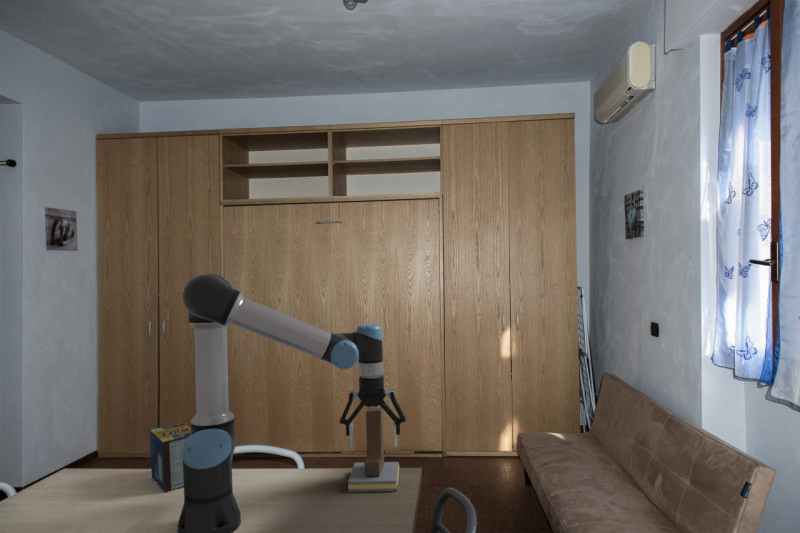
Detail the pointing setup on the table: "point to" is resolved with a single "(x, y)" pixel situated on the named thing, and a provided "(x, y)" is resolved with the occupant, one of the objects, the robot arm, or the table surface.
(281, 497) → the table surface
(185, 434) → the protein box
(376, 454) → the wooden block
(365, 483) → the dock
